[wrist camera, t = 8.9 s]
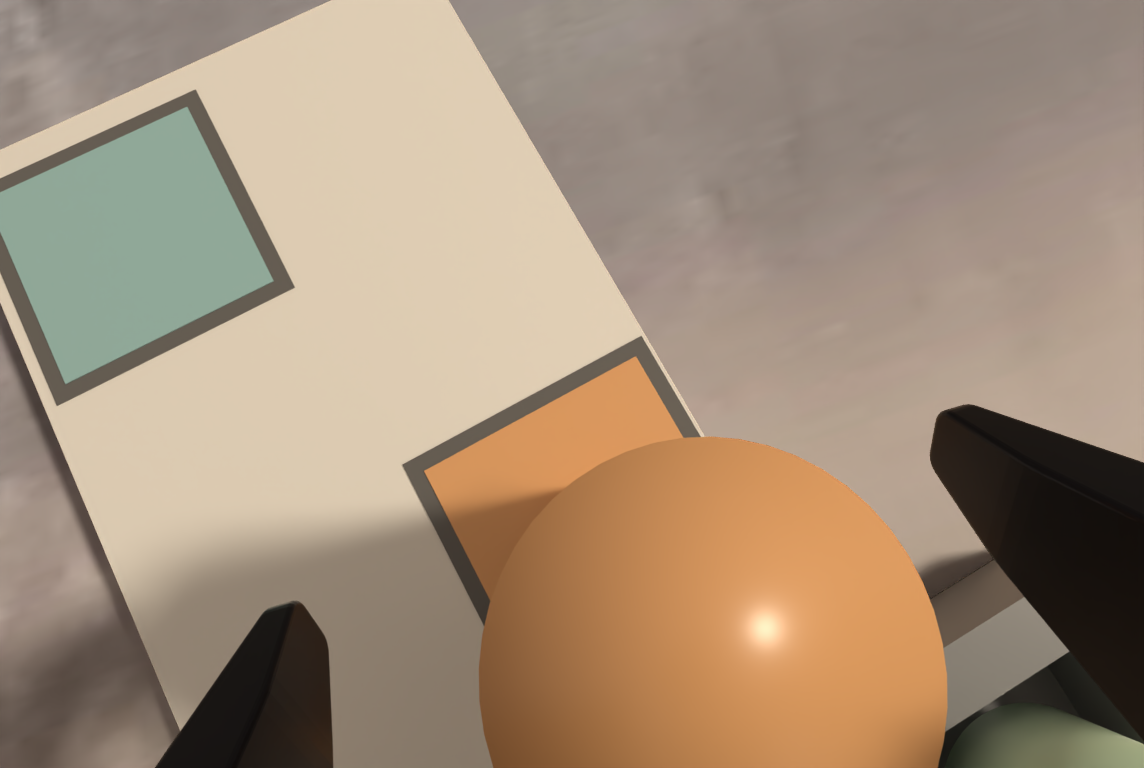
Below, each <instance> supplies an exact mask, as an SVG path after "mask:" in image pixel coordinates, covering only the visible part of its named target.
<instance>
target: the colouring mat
mask: <svg viewBox="0 0 1144 768" xmlns="http://www.w3.org/2000/svg"><path fill="white" fill-rule="evenodd" d="M0 303H1V306H2V308H3V310H4V313H5V315H6V318H7V320H8V322H9V325H10V327H11V330H12V332H13V334H14V337H15V339H16V341H17V344H18V346H19V349H20V351H21V353H22V356H23V358H24V360H25V363H26V365H27V368H28V370H29V372H30V375H31V377H32V380H33V382H34V384H35V387H36V389H37V391H38V394H39V396H40V399H41V401H42V403H43V406H44V408H45V410H46V413H47V415H48V418H49V420H50V422H51V425H52V427H53V430H54V432H55V434H56V437H57V439H58V441H59V444H60V446H61V449H62V451H63V453H64V456H65V458H66V460H67V463H68V465H69V468H70V470H71V472H72V475H73V477H74V480H75V482H76V484H77V487H78V489H79V491H80V494H81V496H82V499H83V501H84V503H85V506H86V508H87V510H88V513H89V515H90V518H91V520H92V522H93V525H94V527H95V530H96V532H97V534H98V537H99V539H100V541H101V544H102V546H103V549H104V551H105V553H106V556H107V558H108V560H109V563H110V565H111V568H112V570H113V572H114V575H115V577H116V580H117V582H118V584H119V587H120V589H121V591H122V594H123V596H124V599H125V601H126V603H127V606H128V608H129V610H130V613H131V615H132V618H133V620H134V622H135V625H136V627H137V630H138V632H139V634H140V637H141V639H142V641H143V644H144V646H145V649H146V651H147V653H148V656H149V658H150V660H151V663H152V665H153V668H154V670H155V672H156V675H157V677H158V680H159V682H160V684H161V687H162V689H163V691H164V694H165V696H166V699H167V701H168V703H169V706H170V708H171V710H172V713H173V715H174V718H175V720H176V722H177V725H178V727H179V730H180V731H181V729H182V728H183V727H184V725H185V724H186V722H187V721H188V719H189V718H190V716H191V715H192V714H193V712H194V711H195V709H196V708H197V706H198V705H199V703H200V702H201V701H202V699H203V698H204V696H205V695H206V693H207V692H208V690H209V689H210V688H211V686H212V685H213V683H214V682H215V680H216V679H217V678H218V676H219V675H220V673H221V672H222V670H223V669H224V667H225V666H226V665H227V663H228V662H229V660H230V659H231V657H232V656H233V654H234V653H235V652H236V650H237V649H238V647H239V646H240V644H241V643H242V641H243V640H244V639H245V637H246V636H247V634H248V633H249V631H250V630H251V628H252V627H253V626H254V624H255V623H256V621H257V620H258V618H259V617H260V616H261V614H262V613H263V612H264V611H265V610H266V609H268V608H270V607H273V606H276V605H279V604H283V603H286V602H290V601H296V600H297V601H299V602H301V603H302V604H303V605H304V606H305V607H306V609H307V610H308V612H309V613H310V615H311V616H312V617H313V619H314V620H315V622H316V623H317V625H318V626H319V628H320V629H321V630H322V632H323V634H324V635H325V638H326V640H327V644H328V649H329V666H330V689H331V712H332V735H333V768H493V765H492V761H491V758H490V754H489V750H488V747H487V743H486V739H485V736H484V730H483V723H482V716H481V709H480V702H479V661H480V651H481V642H482V634H483V630H484V625H485V621H486V617H487V613H488V608H489V604H490V601H491V599H492V596H493V593H494V590H495V588H496V585H497V582H498V580H499V577H500V574H501V572H502V570H503V568H504V567H505V565H506V563H507V561H508V559H509V557H510V555H511V553H512V551H513V549H514V547H515V546H516V544H517V543H518V541H519V540H520V538H521V537H522V536H523V534H524V533H525V531H526V530H527V528H528V527H529V526H530V524H531V523H532V521H533V520H534V519H535V518H536V517H537V516H538V515H539V514H540V512H541V511H542V510H543V509H544V508H545V507H546V506H547V505H548V504H549V502H550V501H551V500H552V499H553V498H554V497H556V496H557V495H558V494H559V493H560V492H562V491H563V490H564V489H565V488H566V487H567V486H569V485H570V484H571V483H572V482H573V481H574V480H576V479H577V478H579V477H580V476H582V475H584V474H585V473H587V472H588V471H590V470H591V469H593V468H594V467H596V466H597V465H599V464H601V463H603V462H605V461H607V460H609V459H611V458H614V457H616V456H618V455H620V454H622V453H624V452H626V451H630V450H633V449H636V448H639V447H642V446H645V445H648V444H652V443H656V442H661V441H667V440H673V439H678V438H690V437H705V436H704V434H703V432H702V431H701V429H700V427H699V426H698V424H697V422H696V421H695V419H694V417H693V415H692V414H691V412H690V410H689V409H688V407H687V405H686V404H685V402H684V400H683V398H682V397H681V395H680V393H679V392H678V390H677V388H676V387H675V385H674V383H673V381H672V380H671V378H670V376H669V375H668V373H667V371H666V370H665V368H664V366H663V364H662V363H661V361H660V359H659V358H658V356H657V354H656V353H655V351H654V349H653V347H652V346H651V344H650V342H649V341H648V339H647V337H646V336H645V334H644V332H643V330H642V329H641V327H640V325H639V324H638V322H637V320H636V319H635V317H634V315H633V313H632V312H631V310H630V308H629V307H628V305H627V303H626V302H625V300H624V298H623V296H622V295H621V293H620V291H619V290H618V288H617V286H616V285H615V283H614V281H613V279H612V278H611V276H610V274H609V273H608V271H607V269H606V268H605V266H604V264H603V262H602V261H601V259H600V257H599V256H598V254H597V252H596V251H595V249H594V247H593V245H592V244H591V242H590V240H589V239H588V237H587V235H586V234H585V232H584V230H583V228H582V227H581V225H580V223H579V222H578V220H577V218H576V217H575V215H574V213H573V211H572V210H571V208H570V206H569V205H568V203H567V201H566V199H565V198H564V196H563V194H562V193H561V191H560V189H559V188H558V186H557V184H556V182H555V181H554V179H553V177H552V176H551V174H550V172H549V171H548V169H547V167H546V165H545V164H544V162H543V160H542V159H541V157H540V155H539V154H538V152H537V150H536V148H535V147H534V145H533V143H532V142H531V140H530V138H529V137H528V135H527V133H526V131H525V130H524V128H523V126H522V125H521V123H520V121H519V120H518V118H517V116H516V114H515V113H514V111H513V109H512V108H511V106H510V104H509V103H508V101H507V99H506V97H505V96H504V94H503V92H502V91H501V89H500V87H499V86H498V84H497V82H496V80H495V79H494V77H493V75H492V74H491V72H490V70H489V69H488V67H487V65H486V63H485V62H484V60H483V58H482V57H481V55H480V53H479V52H478V50H477V48H476V46H475V45H474V43H473V41H472V40H471V38H470V36H469V35H468V33H467V31H466V29H465V28H464V26H463V24H462V23H461V21H460V19H459V18H458V16H457V14H456V12H455V11H454V9H453V7H452V6H451V4H450V2H449V1H448V0H331V1H329V2H327V3H324V4H322V5H320V6H318V7H316V8H313V9H311V10H309V11H307V12H305V13H302V14H300V15H298V16H296V17H293V18H291V19H289V20H287V21H285V22H282V23H280V24H278V25H276V26H274V27H271V28H269V29H267V30H265V31H262V32H260V33H258V34H256V35H254V36H251V37H249V38H247V39H245V40H243V41H240V42H238V43H236V44H234V45H231V46H229V47H227V48H225V49H223V50H220V51H218V52H216V53H214V54H212V55H209V56H207V57H205V58H203V59H200V60H198V61H196V62H194V63H192V64H189V65H187V66H185V67H183V68H181V69H178V70H176V71H174V72H172V73H169V74H167V75H165V76H163V77H161V78H158V79H156V80H154V81H152V82H150V83H147V84H145V85H143V86H141V87H138V88H136V89H134V90H132V91H130V92H127V93H125V94H123V95H121V96H119V97H116V98H114V99H112V100H110V101H107V102H105V103H103V104H101V105H99V106H96V107H94V108H92V109H90V110H88V111H85V112H83V113H81V114H79V115H76V116H74V117H72V118H70V119H68V120H65V121H63V122H61V123H59V124H57V125H54V126H52V127H50V128H48V129H45V130H43V131H41V132H39V133H37V134H34V135H32V136H30V137H28V138H26V139H23V140H21V141H19V142H17V143H14V144H12V145H10V146H8V147H6V148H3V149H1V150H0Z"/></svg>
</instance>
